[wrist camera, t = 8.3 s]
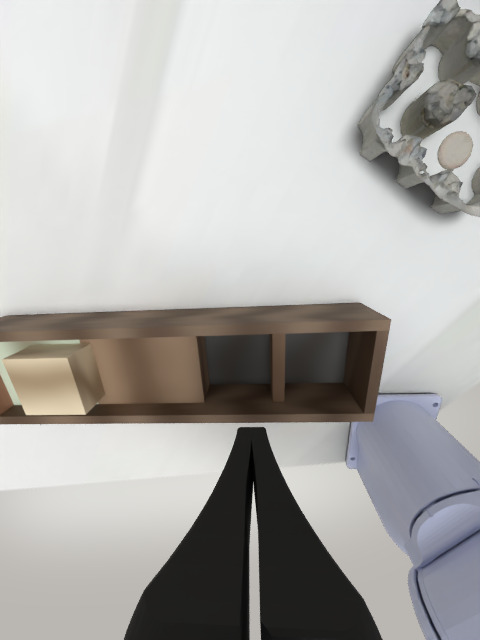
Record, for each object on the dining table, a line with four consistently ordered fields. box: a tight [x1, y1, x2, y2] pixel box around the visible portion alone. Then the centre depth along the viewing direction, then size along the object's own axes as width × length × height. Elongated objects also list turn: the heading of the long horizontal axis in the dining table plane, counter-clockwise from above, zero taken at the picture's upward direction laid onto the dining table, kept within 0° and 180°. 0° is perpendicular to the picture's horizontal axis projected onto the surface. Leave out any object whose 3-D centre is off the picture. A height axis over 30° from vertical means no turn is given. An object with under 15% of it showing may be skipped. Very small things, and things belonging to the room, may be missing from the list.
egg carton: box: [358, 0, 480, 217], centre depth 14 cm, size 11×8×4 cm
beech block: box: [2, 343, 105, 415], centre depth 18 cm, size 5×5×2 cm
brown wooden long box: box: [0, 303, 391, 424], centre depth 20 cm, size 32×9×4 cm, turn 93°
